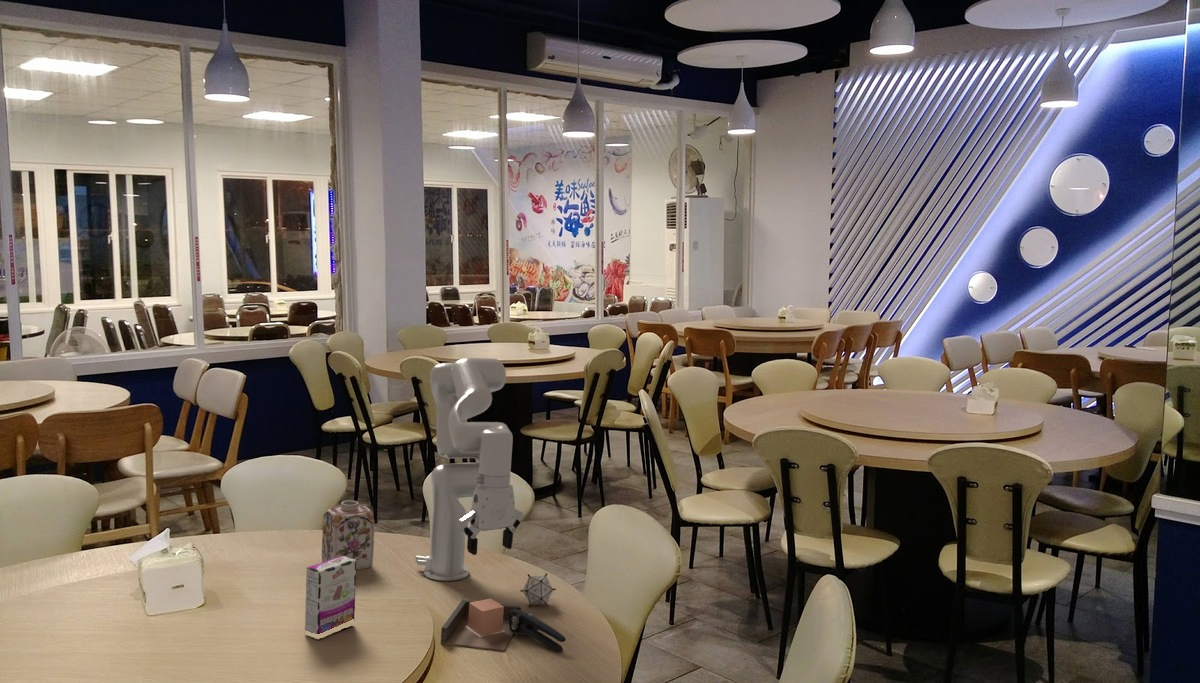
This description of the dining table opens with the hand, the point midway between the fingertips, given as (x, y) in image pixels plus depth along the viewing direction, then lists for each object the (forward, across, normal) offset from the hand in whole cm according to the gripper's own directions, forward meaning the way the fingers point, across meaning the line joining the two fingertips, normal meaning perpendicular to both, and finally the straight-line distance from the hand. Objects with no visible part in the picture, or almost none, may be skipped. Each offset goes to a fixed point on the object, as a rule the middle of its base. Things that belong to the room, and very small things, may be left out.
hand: (489, 550), depth 214 cm
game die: (+20, +20, +8) cm, 30 cm away
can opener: (+20, +8, -11) cm, 24 cm away
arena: (+20, -1, -1) cm, 20 cm away
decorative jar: (+21, -11, +58) cm, 63 cm away
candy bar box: (+20, -32, +17) cm, 42 cm away
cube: (+20, 0, 0) cm, 20 cm away
